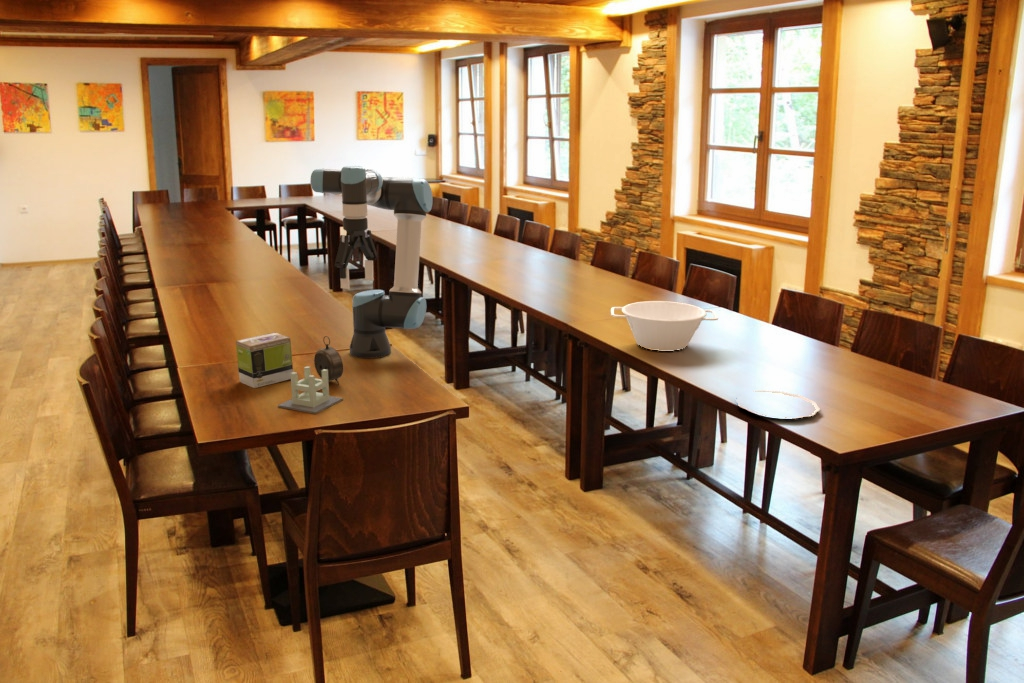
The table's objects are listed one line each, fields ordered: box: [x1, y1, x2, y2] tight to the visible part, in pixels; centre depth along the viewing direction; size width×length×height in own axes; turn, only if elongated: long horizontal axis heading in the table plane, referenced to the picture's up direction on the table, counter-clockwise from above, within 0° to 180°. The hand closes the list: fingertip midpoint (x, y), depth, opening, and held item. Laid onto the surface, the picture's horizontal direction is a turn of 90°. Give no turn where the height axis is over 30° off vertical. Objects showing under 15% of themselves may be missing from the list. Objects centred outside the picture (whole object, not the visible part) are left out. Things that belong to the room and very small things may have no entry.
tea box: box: [235, 331, 294, 389], centre depth 296 cm, size 15×10×15 cm
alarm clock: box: [313, 335, 344, 386], centre depth 294 cm, size 11×5×16 cm, turn 47°
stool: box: [290, 366, 330, 407], centre depth 275 cm, size 8×8×10 cm
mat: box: [277, 395, 344, 415], centre depth 276 cm, size 14×14×1 cm
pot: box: [610, 300, 719, 350], centre depth 342 cm, size 40×32×14 cm
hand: (357, 284), depth 281 cm, fingers open, 13 cm apart
